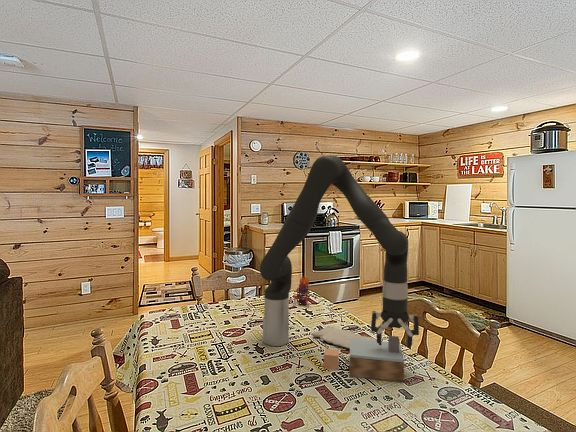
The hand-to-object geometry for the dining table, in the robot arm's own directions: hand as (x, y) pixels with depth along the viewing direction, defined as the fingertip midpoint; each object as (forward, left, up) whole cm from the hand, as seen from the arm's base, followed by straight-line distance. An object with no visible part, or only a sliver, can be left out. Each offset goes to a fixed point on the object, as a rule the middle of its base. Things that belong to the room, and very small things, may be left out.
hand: (394, 345), depth 110 cm
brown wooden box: (-6, 0, -9) cm, 10 cm away
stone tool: (-15, +19, -9) cm, 26 cm away
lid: (-6, 0, -2) cm, 6 cm away
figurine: (-39, +58, -9) cm, 71 cm away
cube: (-20, 0, -9) cm, 21 cm away
